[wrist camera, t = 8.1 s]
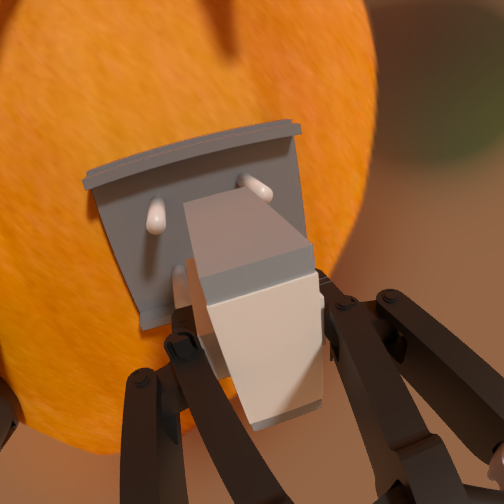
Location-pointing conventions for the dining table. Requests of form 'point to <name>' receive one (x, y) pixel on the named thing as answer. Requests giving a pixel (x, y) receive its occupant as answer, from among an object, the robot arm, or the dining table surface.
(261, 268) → the block
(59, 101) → the dining table surface
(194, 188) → the grey pegged base
